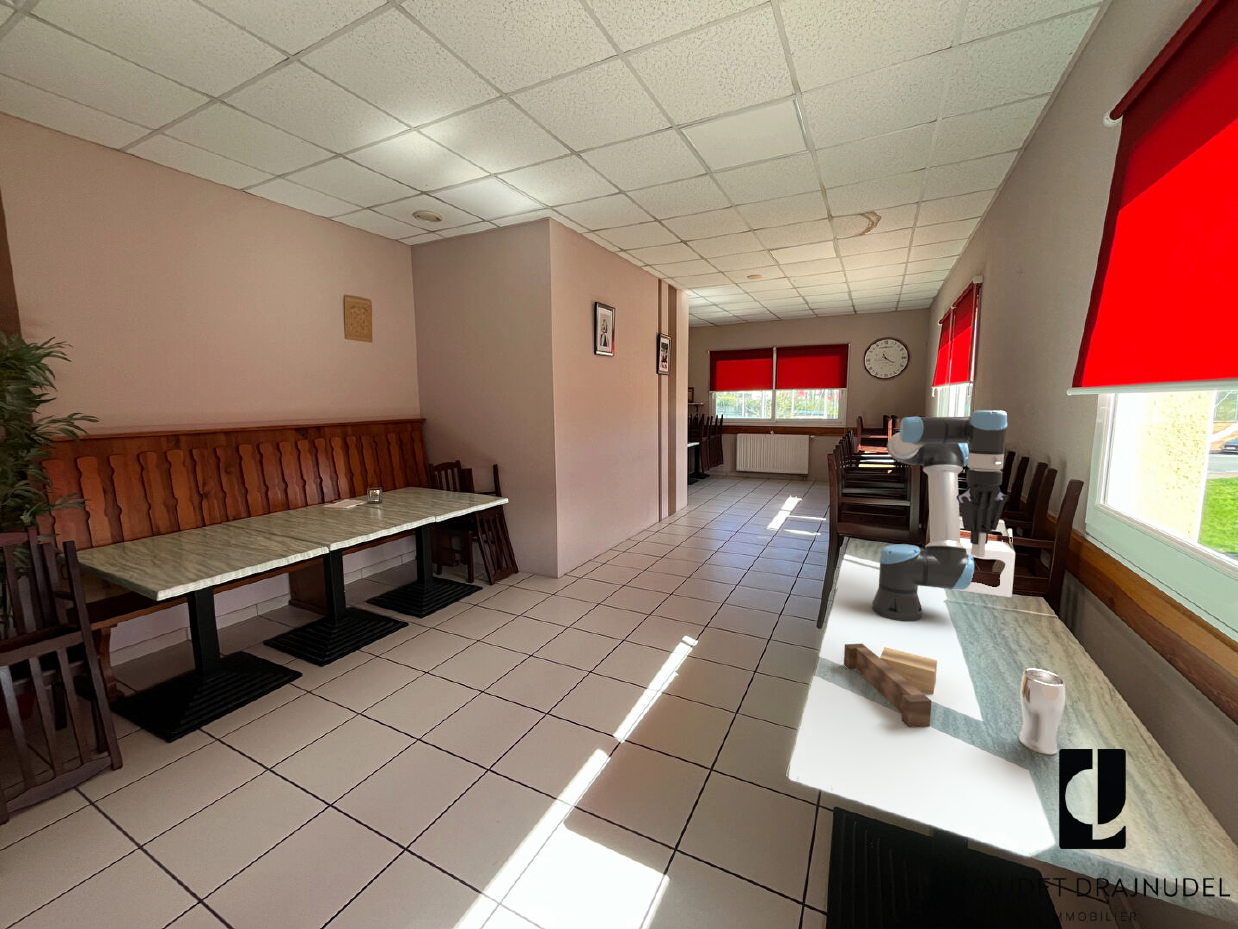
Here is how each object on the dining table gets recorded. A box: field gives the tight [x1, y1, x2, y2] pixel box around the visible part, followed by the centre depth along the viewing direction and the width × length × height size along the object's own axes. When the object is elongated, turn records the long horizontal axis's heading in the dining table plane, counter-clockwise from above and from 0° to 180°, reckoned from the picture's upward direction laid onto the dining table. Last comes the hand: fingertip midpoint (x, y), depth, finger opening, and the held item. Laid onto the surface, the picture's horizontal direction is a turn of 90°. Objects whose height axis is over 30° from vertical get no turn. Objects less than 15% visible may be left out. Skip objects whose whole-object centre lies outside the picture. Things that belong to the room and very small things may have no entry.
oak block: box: [879, 646, 938, 695], centre depth 126 cm, size 7×12×6 cm, turn 53°
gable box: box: [942, 515, 1016, 598], centre depth 190 cm, size 22×13×28 cm, turn 62°
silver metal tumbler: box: [1018, 668, 1066, 756], centre depth 101 cm, size 7×7×15 cm
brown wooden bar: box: [843, 643, 932, 728], centre depth 120 cm, size 27×5×6 cm, turn 4°
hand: (977, 555), depth 131 cm, fingers closed
